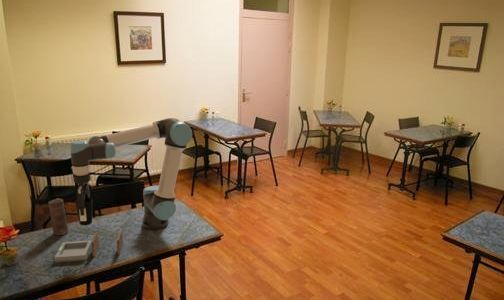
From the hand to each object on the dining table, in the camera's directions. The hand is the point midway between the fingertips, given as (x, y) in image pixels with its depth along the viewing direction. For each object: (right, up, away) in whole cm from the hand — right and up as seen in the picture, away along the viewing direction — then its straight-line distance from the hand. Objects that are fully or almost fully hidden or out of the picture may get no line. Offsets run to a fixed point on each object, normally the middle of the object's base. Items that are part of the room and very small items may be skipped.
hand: (85, 216), depth 184 cm
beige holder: (+8, -19, +8) cm, 22 cm away
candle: (-24, -13, +24) cm, 36 cm away
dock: (-7, -19, +4) cm, 21 cm away
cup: (0, -3, +1) cm, 3 cm away
